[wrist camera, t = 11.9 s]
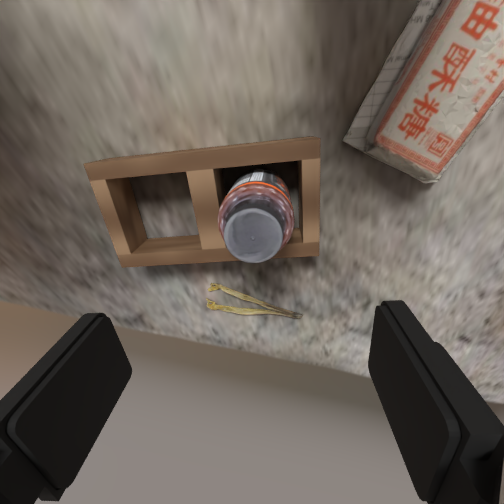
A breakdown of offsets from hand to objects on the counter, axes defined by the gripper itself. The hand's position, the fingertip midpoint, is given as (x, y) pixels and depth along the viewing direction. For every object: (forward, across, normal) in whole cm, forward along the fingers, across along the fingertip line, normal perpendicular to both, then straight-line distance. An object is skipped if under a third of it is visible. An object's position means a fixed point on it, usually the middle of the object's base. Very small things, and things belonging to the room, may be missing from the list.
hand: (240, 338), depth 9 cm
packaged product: (+21, -17, -10) cm, 28 cm away
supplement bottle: (+20, 0, 0) cm, 20 cm away
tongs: (+21, +2, +14) cm, 25 cm away
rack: (+20, +5, 0) cm, 21 cm away
